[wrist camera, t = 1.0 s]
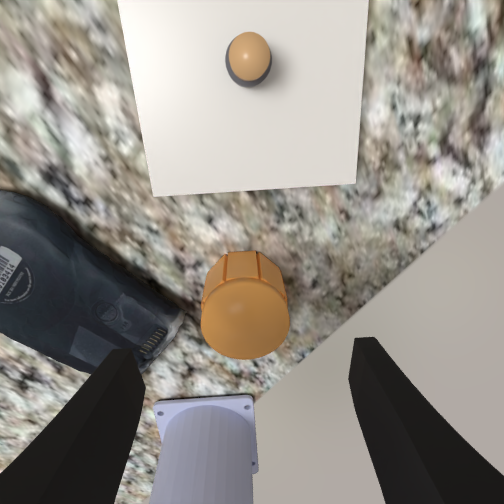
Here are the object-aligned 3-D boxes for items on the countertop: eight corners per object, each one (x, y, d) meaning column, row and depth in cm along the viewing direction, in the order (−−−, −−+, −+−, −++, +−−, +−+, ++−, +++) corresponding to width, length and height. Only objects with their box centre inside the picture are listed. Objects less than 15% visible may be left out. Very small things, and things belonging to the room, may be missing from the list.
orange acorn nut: (281, 312, 24) (290, 356, 20) (212, 317, 24) (206, 362, 20) (280, 248, 22) (289, 283, 18) (203, 253, 22) (195, 289, 18)
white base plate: (344, 176, 20) (376, 198, 15) (161, 187, 20) (138, 213, 15) (360, -92, 15) (413, -176, 10) (115, -77, 15) (61, -156, 10)
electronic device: (198, 278, 24) (-27, 150, 18) (191, 338, 20) (-111, 195, 14) (135, 344, 28) (-69, 257, 22) (117, 407, 24) (-145, 320, 18)
